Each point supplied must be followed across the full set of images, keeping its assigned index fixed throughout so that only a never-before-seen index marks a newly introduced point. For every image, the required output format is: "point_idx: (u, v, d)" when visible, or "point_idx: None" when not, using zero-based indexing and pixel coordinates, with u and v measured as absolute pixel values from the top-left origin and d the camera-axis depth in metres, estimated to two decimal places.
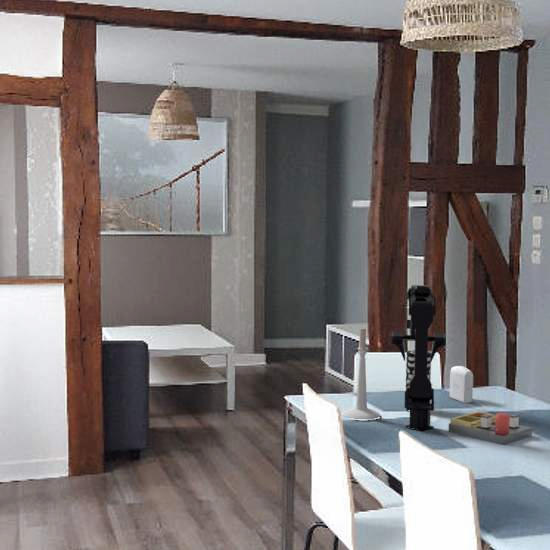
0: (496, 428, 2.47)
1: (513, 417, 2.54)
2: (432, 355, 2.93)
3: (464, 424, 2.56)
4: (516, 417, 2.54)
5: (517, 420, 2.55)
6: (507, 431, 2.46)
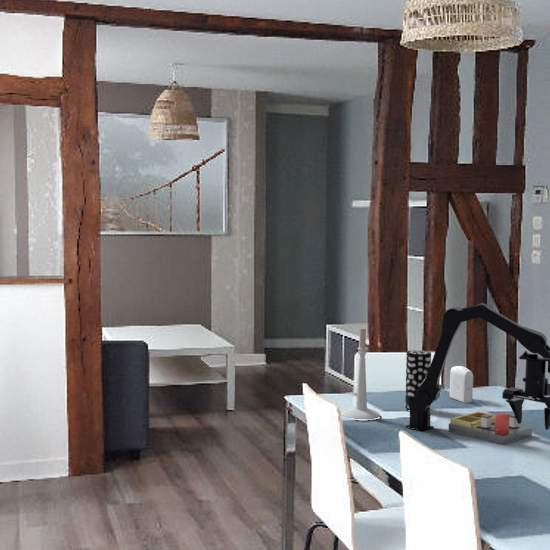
0: (496, 428, 2.47)
1: (513, 417, 2.54)
2: (545, 420, 2.45)
3: (464, 424, 2.56)
4: None
5: None
6: (507, 431, 2.46)
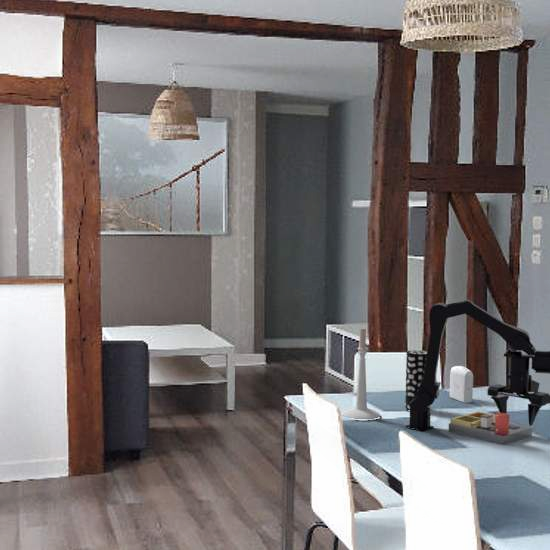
0: (496, 428, 2.47)
1: None
2: (529, 416, 2.49)
3: (464, 424, 2.56)
4: None
5: None
6: (507, 431, 2.46)
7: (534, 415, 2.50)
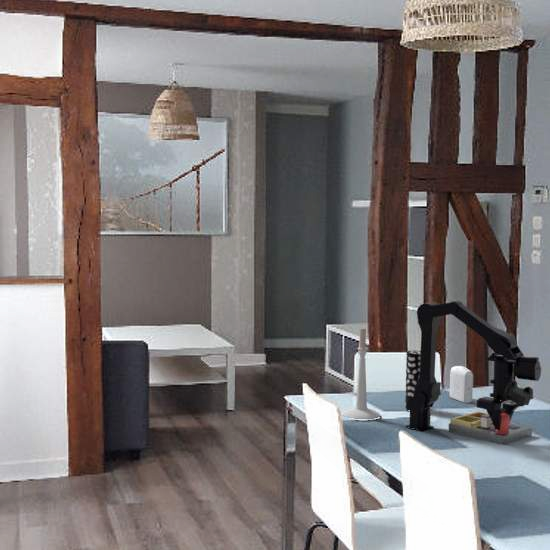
0: None
1: None
2: None
3: (464, 424, 2.56)
4: None
5: None
6: (507, 431, 2.46)
7: (495, 419, 2.45)
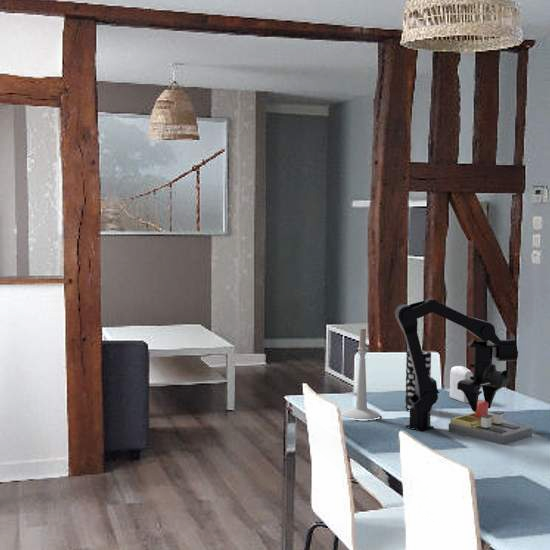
0: (475, 415, 2.63)
1: (498, 414, 2.58)
2: None
3: (464, 424, 2.56)
4: (501, 414, 2.58)
5: (502, 417, 2.59)
6: None
7: (472, 401, 2.60)
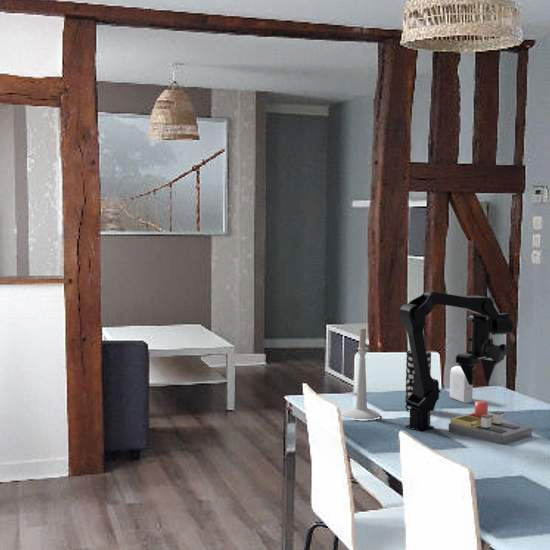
0: (475, 415, 2.63)
1: (498, 414, 2.58)
2: None
3: (464, 424, 2.56)
4: (501, 414, 2.58)
5: (502, 417, 2.59)
6: None
7: (468, 375, 2.66)
